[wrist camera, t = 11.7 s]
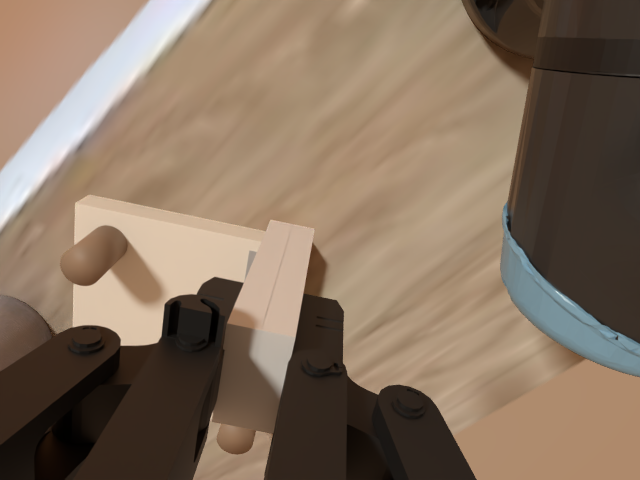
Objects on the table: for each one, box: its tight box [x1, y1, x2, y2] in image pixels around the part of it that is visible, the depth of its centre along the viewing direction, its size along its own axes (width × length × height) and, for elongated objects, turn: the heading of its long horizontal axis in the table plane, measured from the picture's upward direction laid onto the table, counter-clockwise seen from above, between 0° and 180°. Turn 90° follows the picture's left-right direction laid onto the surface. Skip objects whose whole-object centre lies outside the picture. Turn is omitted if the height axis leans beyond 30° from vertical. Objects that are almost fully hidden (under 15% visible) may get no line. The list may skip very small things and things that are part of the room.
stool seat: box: [60, 194, 266, 454], centre depth 46 cm, size 20×20×8 cm
